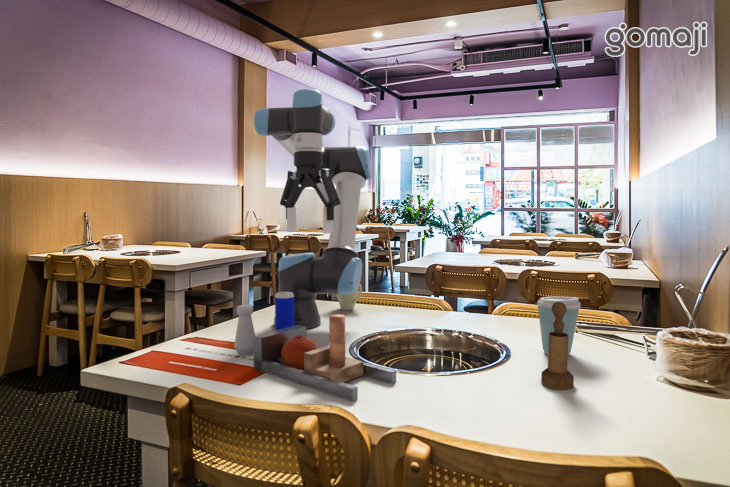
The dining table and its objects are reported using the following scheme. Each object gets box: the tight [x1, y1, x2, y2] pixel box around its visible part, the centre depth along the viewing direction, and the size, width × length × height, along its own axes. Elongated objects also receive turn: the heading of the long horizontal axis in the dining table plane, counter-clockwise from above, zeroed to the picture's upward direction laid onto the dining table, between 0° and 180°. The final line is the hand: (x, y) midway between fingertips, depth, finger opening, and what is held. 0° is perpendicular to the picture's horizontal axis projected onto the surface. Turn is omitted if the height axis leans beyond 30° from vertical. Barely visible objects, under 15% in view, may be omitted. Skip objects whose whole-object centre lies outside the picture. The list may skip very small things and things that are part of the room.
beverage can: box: [274, 291, 294, 330], centre depth 139 cm, size 5×5×15 cm
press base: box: [253, 325, 397, 402], centre depth 116 cm, size 14×32×8 cm, turn 50°
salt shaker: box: [233, 303, 256, 357], centre depth 132 cm, size 6×6×13 cm
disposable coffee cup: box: [536, 296, 582, 357], centre depth 132 cm, size 11×11×15 cm
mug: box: [336, 283, 363, 311], centre depth 189 cm, size 11×10×12 cm
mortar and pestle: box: [540, 302, 574, 391], centre depth 109 cm, size 7×6×18 cm
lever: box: [303, 313, 364, 383], centre depth 113 cm, size 11×8×14 cm
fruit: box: [281, 335, 319, 371], centre depth 121 cm, size 9×9×8 cm
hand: (309, 232), depth 133 cm, fingers open, 13 cm apart
